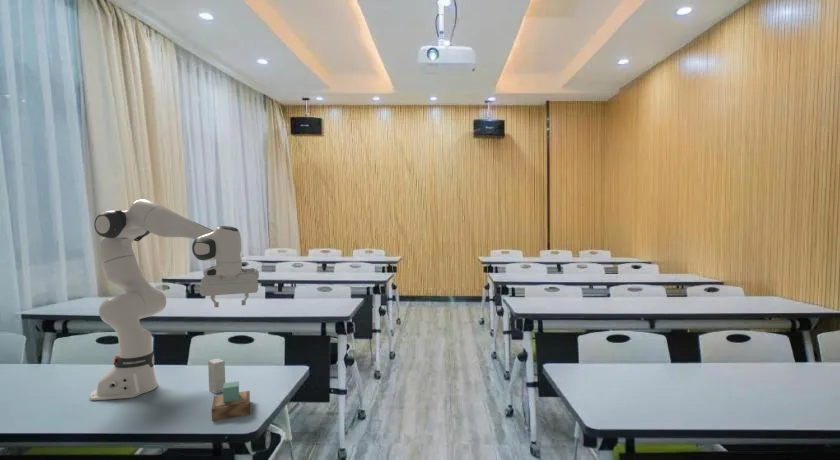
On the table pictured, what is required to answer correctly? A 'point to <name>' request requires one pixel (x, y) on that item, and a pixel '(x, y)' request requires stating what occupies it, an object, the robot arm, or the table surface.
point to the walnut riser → (231, 406)
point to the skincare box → (216, 375)
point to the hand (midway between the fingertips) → (230, 306)
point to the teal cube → (230, 391)
